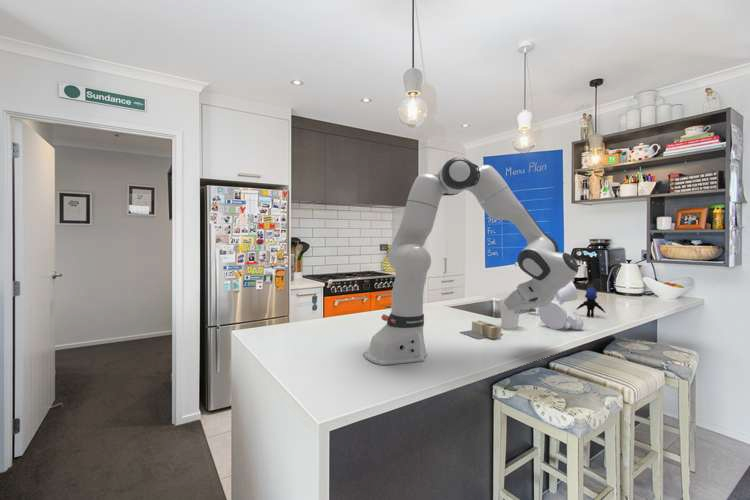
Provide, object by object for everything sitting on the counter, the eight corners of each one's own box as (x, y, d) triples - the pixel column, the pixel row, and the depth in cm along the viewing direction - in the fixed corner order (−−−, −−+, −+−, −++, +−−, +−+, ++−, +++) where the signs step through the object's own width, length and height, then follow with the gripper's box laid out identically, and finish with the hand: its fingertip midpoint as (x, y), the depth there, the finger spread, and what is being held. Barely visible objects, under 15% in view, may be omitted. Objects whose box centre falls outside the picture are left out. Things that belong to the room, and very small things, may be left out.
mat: (477, 339, 151) (477, 338, 151) (459, 332, 160) (459, 332, 160) (503, 335, 157) (503, 334, 157) (483, 328, 167) (483, 328, 167)
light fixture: (607, 304, 162) (572, 275, 172) (589, 316, 153) (553, 285, 163) (575, 338, 178) (545, 310, 188) (556, 350, 170) (526, 320, 180)
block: (493, 327, 150) (471, 321, 160) (492, 339, 150) (471, 331, 161) (501, 326, 152) (479, 320, 163) (500, 337, 152) (479, 330, 163)
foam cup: (522, 331, 164) (523, 301, 163) (500, 329, 166) (500, 300, 165) (518, 325, 173) (519, 297, 173) (497, 324, 175) (498, 296, 175)
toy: (605, 317, 192) (606, 288, 191) (605, 319, 187) (606, 289, 186) (576, 314, 199) (577, 285, 198) (575, 316, 194) (576, 287, 193)
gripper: (554, 282, 139) (531, 303, 148) (515, 284, 129) (492, 307, 138) (564, 296, 135) (540, 317, 144) (525, 299, 126) (501, 321, 135)
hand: (516, 312), depth 141 cm, fingers closed
